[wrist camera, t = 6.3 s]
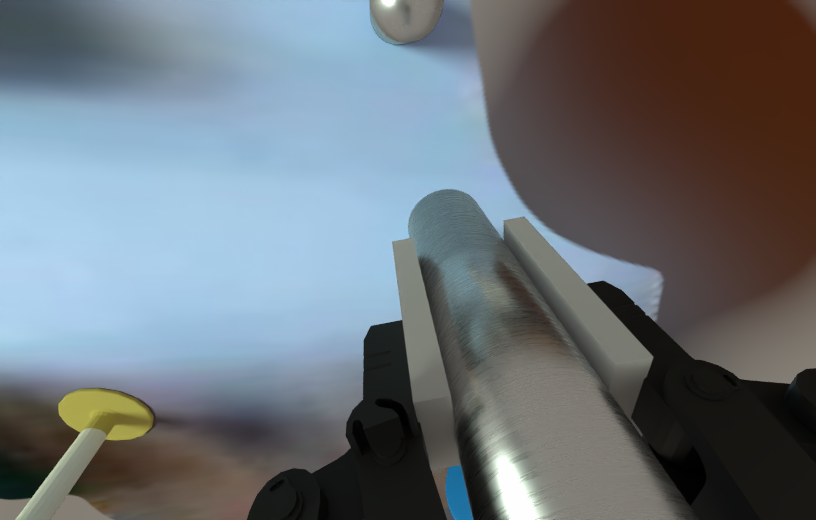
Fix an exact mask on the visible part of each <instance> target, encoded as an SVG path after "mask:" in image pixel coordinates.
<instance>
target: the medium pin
mask: <svg viewBox="0 0 816 520" xmlns="http://www.w3.org/2000/svg"><path fill="white" fill-rule="evenodd" d="M443 1H444V0H370V21H371V25H372V27H373V30H374V31H375V33H376V34H377V36H378V37H379V38H380V39H381V40H383V41H384V42H386V43H389V44H393V45H397V44H404V43H411V42H415V41H418V40H421V39H422V38H424V37H426V36H427V35H428V34H429V33H430V32H431V31H432V30H433V29H434V27H435V26H436V24H437V22H438V20H439V18H440V16H441V12H442V8H443Z"/></svg>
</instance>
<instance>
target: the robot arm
mask: <svg viewBox="0 0 816 520" xmlns="http://www.w3.org/2000/svg"><path fill="white" fill-rule="evenodd" d="M504 242H505V244H506V245H507V246H508V248H509V249H510V251H511V252H512V254H513V255H514V256H515V258H516V259H517V261H518V262H519V263H520V265H521V266H522V268H523V269H524V271H525V272H526V273H527V275H528V276H529V278H530V279H531V281H532V282H533V283H534V285H535V286H536V288H537V289H538V290H539V292H540V293H541V295H542V296H543V298H544V299H545V300H546V302H547V303H548V305H549V306H550V308H551V309H552V310H553V312H554V313H555V315H556V316H557V318H558V319H559V320H560V322H561V323H562V325H563V326H564V327H565V329H566V330H567V332H568V333H569V335H570V336H571V337H572V339H573V340H574V342H575V343H576V345H577V346H578V347H579V349H580V350H581V352H582V353H583V355H584V356H585V357H586V359H587V360H588V362H589V363H590V364H591V366H592V367H593V369H594V370H595V372H596V373H597V374H598V376H599V377H600V379H601V380H602V382H603V383H604V384H605V386H606V387H607V389H608V390H609V392H610V393H611V394H612V396H613V397H614V399H615V400H616V401H617V403H618V404H619V406H620V407H621V409H622V410H623V411H624V413H625V414H626V416H627V417H628V419H629V420H630V421H632V419H633V421H634V422H635V424H636V425H637V426H638V428H639V429H640V431H641V432H642V434H643V435H642V438H643V440H644V441H645V443H646V444H647V446H648V447H649V448H650V450H651V451H652V453H653V454H654V456H655V457H656V458H657V460H658V461H659V463H660V464H661V465H662V467H663V468H664V470H665V471H666V473H667V474H668V475H669V477H670V478H671V480H672V481H673V483H674V484H675V485H676V487H677V488H678V490H679V491H680V493H681V494H682V495H683V497H684V498H685V500H686V501H687V502H688V504H689V505H690V507H691V508H692V510H693V511H694V512H695V514H696V515H697V517H698V518H699V520H816V368H815V369H806V370H804V371H802V372H800V373H799V374H797V376H796V377H795V378H794V380H793V381H792V383H791V384H785V383H773V382H761V381H750V380H742V379H739V378H738V377H736V376H735V375H734V374H733V373H731V372H729V371H728V370H726V369H724V368H722V367H720V366H718V365H715V364H712V363H709V362H706V361H702V360H694V359H693V358H692V357H691V356H689V355H688V354H687V353H686V352H685V351H684V350H683V349H682V348H681V347H680V346H679V345H678V344H677V343H676V342H675V341H674V340H673V339H672V338H671V337H670V336H669V335H668V334H667V333H666V332H665V331H663V330H662V329H661V328H660V327H659V326H658V325H657V324H656V323H655V322H654V321H653V320H652V319H651V318H650V317H649V316H646V315H645V312H644V311H643V310H642V309H641V308H640V307H639V306H637V305H635V304H634V302H633V301H632V300H631V299H630V298H629V297H628V296H627V295H626V294H625V293H624V292H623V291H622V290H620V289H618V288H617V287H615V286H613V285H611V284H609V283H607V282H605V281H599V282H594V283H588V284H586V283H585V282H584V281H583V280H582V279H581V278H580V277H579V275H578V274H577V273H576V272H575V271H574V270H573V269H572V268H571V267H570V266H569V265H568V263H567V262H566V261H565V260H564V259H563V258H562V257H561V256H560V255H559V254H558V253H557V252H556V250H555V249H554V248H553V247H552V246H551V245H550V244H549V243H548V242H547V241H546V240H545V238H544V237H543V236H542V235H541V234H540V233H539V232H538V231H537V230H536V229H535V228H534V227H533V225H532V224H531V223H530V222H529V221H528V220H527V219H526V218H525V217H520V218H514V219H509V220H504ZM392 244H393V252H394V260H395V267H396V275H397V283H398V290H399V298H400V306H401V313H402V320H400V321H395V322H390V323H384V324H379V325H374V326H371V327H370V329H369V331H368V333H367V335H366V337H365V339H364V371H363V400H362V401H361V402H360V403H359V404H358V405H357V406H356V407H355V408H354V409H353V411H352V413H351V415H350V417H349V419H348V421H347V426H346V437H347V439H348V442H349V444H350V446H351V448H350V449H349V450H348V451H347V452H346V453H345V454H344V455H343V456H341V457H340V458H338V459H337V460H335V461H333V462H332V463H330V464H328V465H326V466H324V467H323V468H321V469H319V470H317V471H315V472H314V473H312V474H311V473H310V472H308V471H307V470H305V469H295V468H293V469H290V470H287V471H284V472H281V473H279V474H278V475H276V476H275V477H274V478H272V479H271V480H269V481H268V482H267V483H266V485H265V486H264V487H263V488H262V489H261V491H260V492H259V493H258V494H257V496H256V498H255V500H254V503H253V505H252V507H251V509H250V511H249V515H248V518H247V520H447V518H446V515H445V512H444V509H443V506H442V503H441V499H440V496H439V493H438V490H437V487H436V484H435V481H434V478H433V475H432V470H438V469H443V468H448V467H453V466H458V465H461V464H460V459H459V455H458V451H457V446H456V442H455V437H454V425H455V421H454V414H453V407H452V400H451V394H450V390H449V386H448V382H447V378H446V374H445V369H444V365H443V361H442V357H441V353H440V349H439V345H438V340H437V336H436V332H435V328H434V324H433V320H432V315H431V311H430V307H429V303H428V299H427V295H426V290H425V286H424V282H423V278H422V274H421V270H420V266H419V261H418V257H417V253H416V249H415V245H414V241H413V238H409V239H404V240H399V241H394V242H392Z"/></svg>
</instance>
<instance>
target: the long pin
mask: <svg viewBox="0 0 816 520" xmlns="http://www.w3.org/2000/svg"><path fill="white" fill-rule="evenodd" d="M408 232H409V237H410V238H413V241H414V245H415V249H416V253H417V257H418V261H419V266H420V270H421V274H422V278H423V282H424V286H425V290H426V295H427V299H428V303H429V307H430V311H431V315H432V320H433V324H434V328H435V332H436V336H437V340H438V345H439V349H440V353H441V357H442V361H443V365H444V369H445V374H446V378H447V382H448V386H449V390H450V394H451V400H452V407H453V414H454V421H455V425H454V437H455V442H456V446H457V451H458V455H459V459H460V464H461V468H462V473H463V477H464V482H465V486H466V491H467V495H468V500H469V504H470V508H471V513H472V517H473V520H699V518H698V517H697V515H696V514H695V512H694V511H693V510H692V508H691V507H690V505H689V504H688V502H687V501H686V500H685V498H684V497H683V495H682V494H681V493H680V491H679V490H678V488H677V487H676V485H675V484H674V483H673V481H672V480H671V478H670V477H669V475H668V474H667V473H666V471H665V470H664V468H663V467H662V465H661V464H660V463H659V461H658V460H657V458H656V457H655V456H654V454H653V453H652V451H651V450H650V448H649V447H648V446H647V444H646V443H645V441H644V440H643V438H642V437H641V436H640V434H639V433H638V431H637V430H636V429H635V427H634V426H633V424H632V423H631V421H630V420H629V419H628V417H627V416H626V414H625V413H624V411H623V410H622V409H621V407H620V406H619V404H618V403H617V401H616V400H615V399H614V397H613V396H612V394H611V393H610V392H609V390H608V389H607V387H606V386H605V384H604V383H603V382H602V380H601V379H600V377H599V376H598V374H597V373H596V372H595V370H594V369H593V367H592V366H591V364H590V363H589V362H588V360H587V359H586V357H585V356H584V355H583V353H582V352H581V350H580V349H579V347H578V346H577V345H576V343H575V342H574V340H573V339H572V337H571V336H570V335H569V333H568V332H567V330H566V329H565V327H564V326H563V325H562V323H561V322H560V320H559V319H558V318H557V316H556V315H555V313H554V312H553V310H552V309H551V308H550V306H549V305H548V303H547V302H546V300H545V299H544V298H543V296H542V295H541V293H540V292H539V290H538V289H537V288H536V286H535V285H534V283H533V282H532V281H531V279H530V278H529V276H528V275H527V273H526V272H525V271H524V269H523V268H522V266H521V265H520V263H519V262H518V261H517V259H516V258H515V256H514V255H513V254H512V252H511V251H510V249H509V248H508V246H507V245H506V244H505V242H504V241H503V239H502V238H501V236H500V235H499V234H498V232H497V231H496V229H495V228H494V226H493V225H492V224H491V222H490V221H489V219H488V218H487V217H486V215H485V214H484V212H483V211H482V209H481V208H480V207H479V205H478V204H477V202H476V201H475V200H474V199H473V198H472V197H471V196H470V195H468V194H466V193H464V192H462V191H459V190H453V189H445V190H439V191H436V192H433V193H431V194H429V195H427V196H426V197H424V198H423V199H422V200H420V201H419V202H418V203H417V205H416V206H415V207H414V209H413V210H412V212H411V214H410V217H409V222H408Z"/></svg>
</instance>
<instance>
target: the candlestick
mask: <svg viewBox="0 0 816 520" xmlns="http://www.w3.org/2000/svg"><path fill="white" fill-rule="evenodd" d="M59 415H60V416H61V418H62V419H63V420H64V421H65V423H66V424H67V425H69V426H71V427H72V428H74V429H75V430H77V431H79V432H80V435H79V436H78V437H77V439H76V440H75V441H74V443H73V444H72V445H71V446H70V448H69V449H68V450H67V452H66V453H65V454H64V456H63V457H62V458H61V460H60V461H59V462H58V464H57V465H56V466H55V468H54V469H53V470H52V472H51V473H50V474H49V476H48V477H47V478H46V480H45V481H44V482H43V484H42V485H41V486H40V488H39V489H38V490H37V492H36V493H35V494H34V496H33V497H32V498H31V500H30V501H29V502H28V504H27V505H26V506H25V508H24V509H23V510H22V512H21V513H20V515H19V516H18V517H17V518H16V520H51V518H52V517H53V515H54V514H55V512H56V511H57V509H58V508H59V506H60V505H61V503H62V502H63V501H64V499H65V498H66V496H67V495H68V493H69V492H70V490H71V489H72V487H73V486H74V484H75V483H76V481H77V480H78V478H79V477H80V475H81V474H82V473H83V471H84V470H85V468H86V467H87V465H88V464H89V462H90V461H91V459H92V458H93V456H94V455H95V453H96V452H97V450H98V449H99V447H100V446H101V444H102V443H103V442H104V440H105V439H108V440H128V439H133V438H136V437H139V436H142V435H144V434H145V433H146V432H147V431H148V430H149V429H150V428H152V426H153V420H154V416H153V415H152V413H151V411H150V409H149V408H148V407H147V406H146V405H145V404H143V403H142V402H141V401H139V400H138V399H137V398H134V397H132V396H129V395H127V394H124V393H122V392H119V391H114V390H108V389H102V388H92V389H80V390H77V391H74V392H72V393H69V394H67V395H66V396H65V397H64V398H63V400H62V401H61V402H60V403H59Z"/></svg>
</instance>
